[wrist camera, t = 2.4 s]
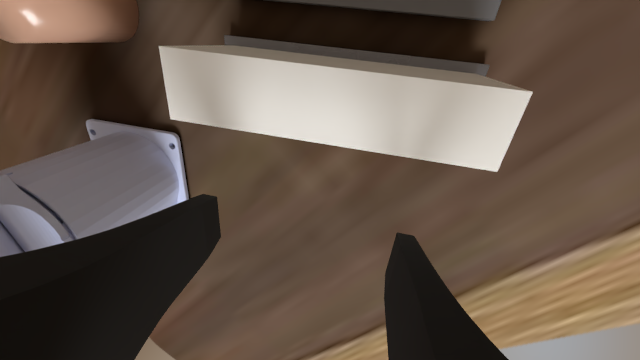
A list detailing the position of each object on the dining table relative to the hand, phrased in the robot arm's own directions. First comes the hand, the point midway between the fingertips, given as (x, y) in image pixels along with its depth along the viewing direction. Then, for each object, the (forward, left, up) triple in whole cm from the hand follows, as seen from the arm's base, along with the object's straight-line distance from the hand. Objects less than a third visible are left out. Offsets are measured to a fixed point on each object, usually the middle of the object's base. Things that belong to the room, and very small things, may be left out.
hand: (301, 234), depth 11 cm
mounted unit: (+4, 0, -9) cm, 10 cm away
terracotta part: (+8, +16, -9) cm, 20 cm away
